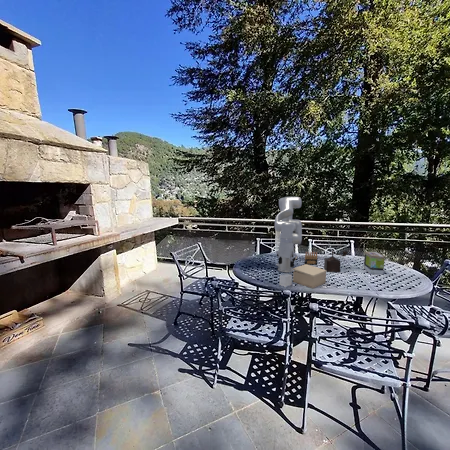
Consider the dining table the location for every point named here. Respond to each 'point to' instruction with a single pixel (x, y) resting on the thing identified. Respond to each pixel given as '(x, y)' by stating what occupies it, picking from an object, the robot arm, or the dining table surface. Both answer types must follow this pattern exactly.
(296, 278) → the cardboard box
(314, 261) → the ammunition clip
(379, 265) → the tea box
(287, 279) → the weight block
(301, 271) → the box lid
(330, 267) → the manual coffee grinder
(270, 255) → the dining table surface
